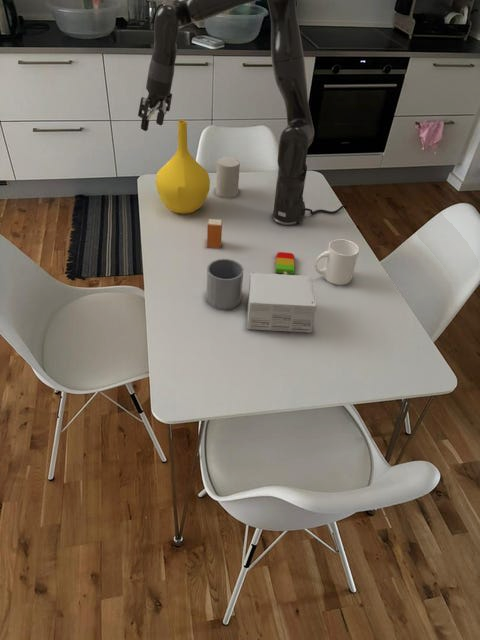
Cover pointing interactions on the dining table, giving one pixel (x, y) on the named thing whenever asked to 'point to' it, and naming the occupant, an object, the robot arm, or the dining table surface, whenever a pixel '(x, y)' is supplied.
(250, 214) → the dining table surface
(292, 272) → the popsicle
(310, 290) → the supplement box
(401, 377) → the dining table surface
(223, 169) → the cup
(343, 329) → the dining table surface
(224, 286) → the steel cup
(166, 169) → the vase
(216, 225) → the juice carton
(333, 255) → the mug
